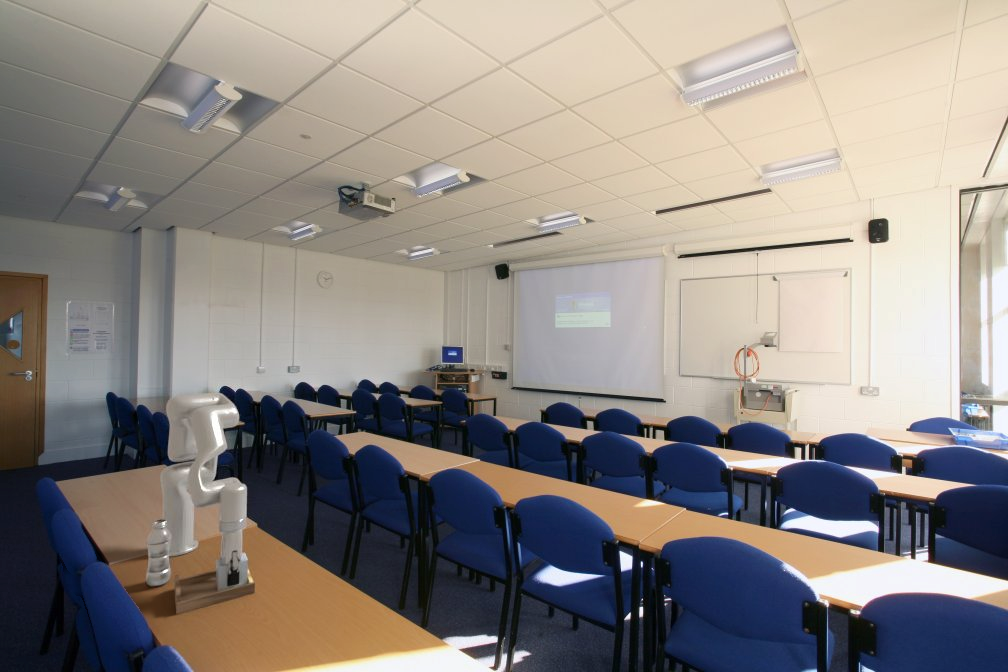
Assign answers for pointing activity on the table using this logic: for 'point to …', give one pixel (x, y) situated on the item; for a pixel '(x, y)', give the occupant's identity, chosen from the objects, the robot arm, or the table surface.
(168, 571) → the plastic bottle
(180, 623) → the table surface
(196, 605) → the bay
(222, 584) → the grey block
